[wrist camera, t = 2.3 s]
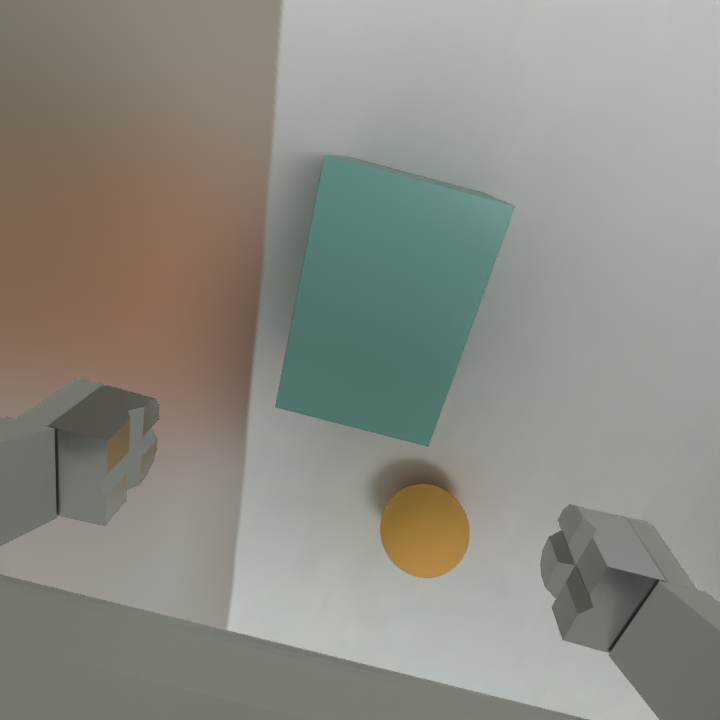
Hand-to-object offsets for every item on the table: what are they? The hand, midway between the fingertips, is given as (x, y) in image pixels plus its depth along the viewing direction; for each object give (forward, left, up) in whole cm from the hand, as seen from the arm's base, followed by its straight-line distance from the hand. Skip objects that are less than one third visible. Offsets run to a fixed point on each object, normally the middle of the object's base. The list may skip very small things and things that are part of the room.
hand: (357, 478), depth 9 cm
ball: (+5, +13, -14) cm, 19 cm away
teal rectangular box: (0, 0, -16) cm, 16 cm away
